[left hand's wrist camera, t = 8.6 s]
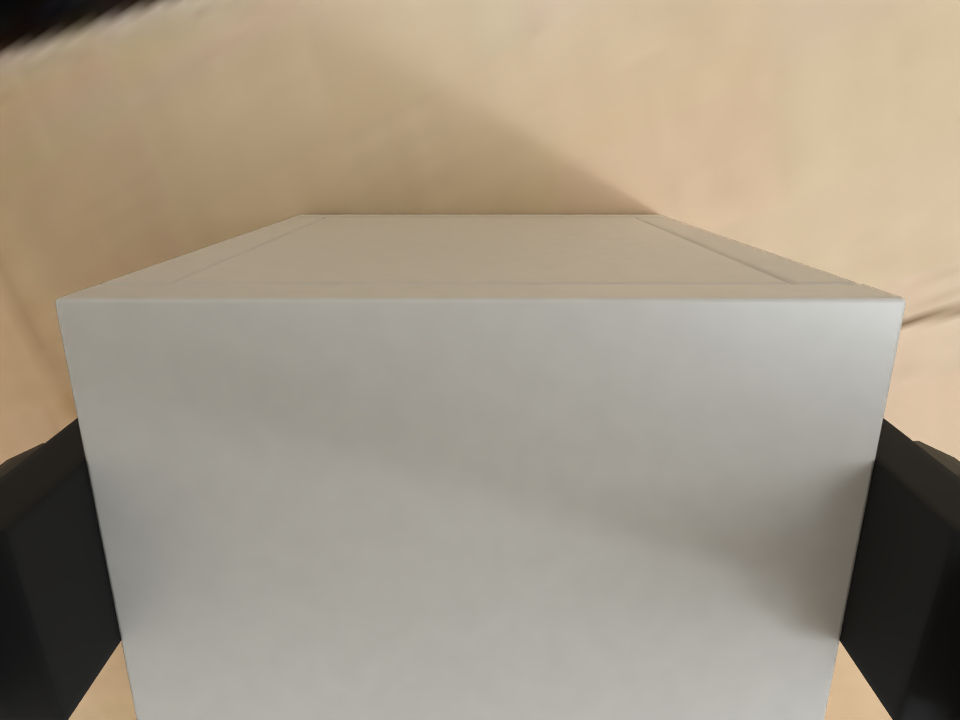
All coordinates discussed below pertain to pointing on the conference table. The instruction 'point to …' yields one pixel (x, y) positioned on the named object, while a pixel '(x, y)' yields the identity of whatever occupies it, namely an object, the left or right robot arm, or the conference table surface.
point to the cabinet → (480, 469)
